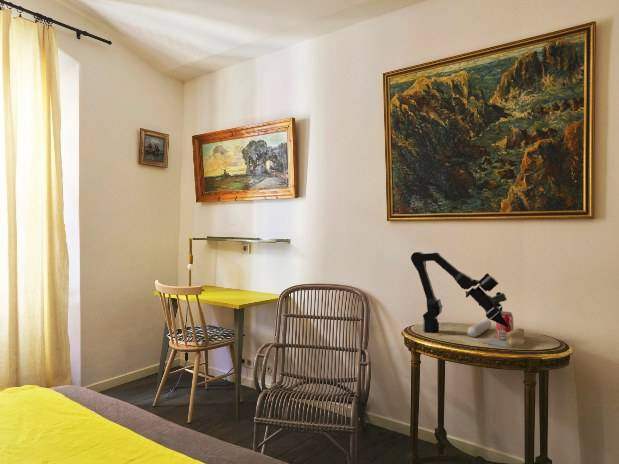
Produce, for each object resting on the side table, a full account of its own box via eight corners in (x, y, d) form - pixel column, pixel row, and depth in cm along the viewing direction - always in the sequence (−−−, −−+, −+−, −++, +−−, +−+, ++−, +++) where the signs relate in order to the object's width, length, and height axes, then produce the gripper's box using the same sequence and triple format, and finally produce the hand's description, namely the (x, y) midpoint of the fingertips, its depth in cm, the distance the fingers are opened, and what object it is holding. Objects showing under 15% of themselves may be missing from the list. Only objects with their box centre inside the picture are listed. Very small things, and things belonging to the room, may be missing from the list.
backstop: (506, 347, 182) (506, 333, 182) (519, 342, 192) (519, 328, 192) (511, 348, 181) (511, 333, 181) (524, 342, 190) (524, 329, 190)
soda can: (511, 337, 200) (511, 311, 200) (515, 341, 193) (515, 314, 194) (494, 336, 202) (495, 310, 202) (497, 340, 195) (498, 313, 195)
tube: (479, 330, 198) (493, 321, 218) (468, 325, 201) (482, 317, 221) (475, 340, 199) (489, 331, 219) (464, 335, 202) (479, 326, 222)
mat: (482, 343, 189) (482, 342, 189) (492, 339, 196) (492, 338, 196) (505, 347, 182) (505, 346, 182) (515, 343, 189) (515, 342, 189)
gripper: (494, 288, 191) (522, 316, 186) (496, 284, 208) (522, 309, 203) (474, 305, 195) (501, 332, 190) (478, 300, 211) (503, 325, 206)
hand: (508, 324), depth 197 cm, fingers open, 9 cm apart
